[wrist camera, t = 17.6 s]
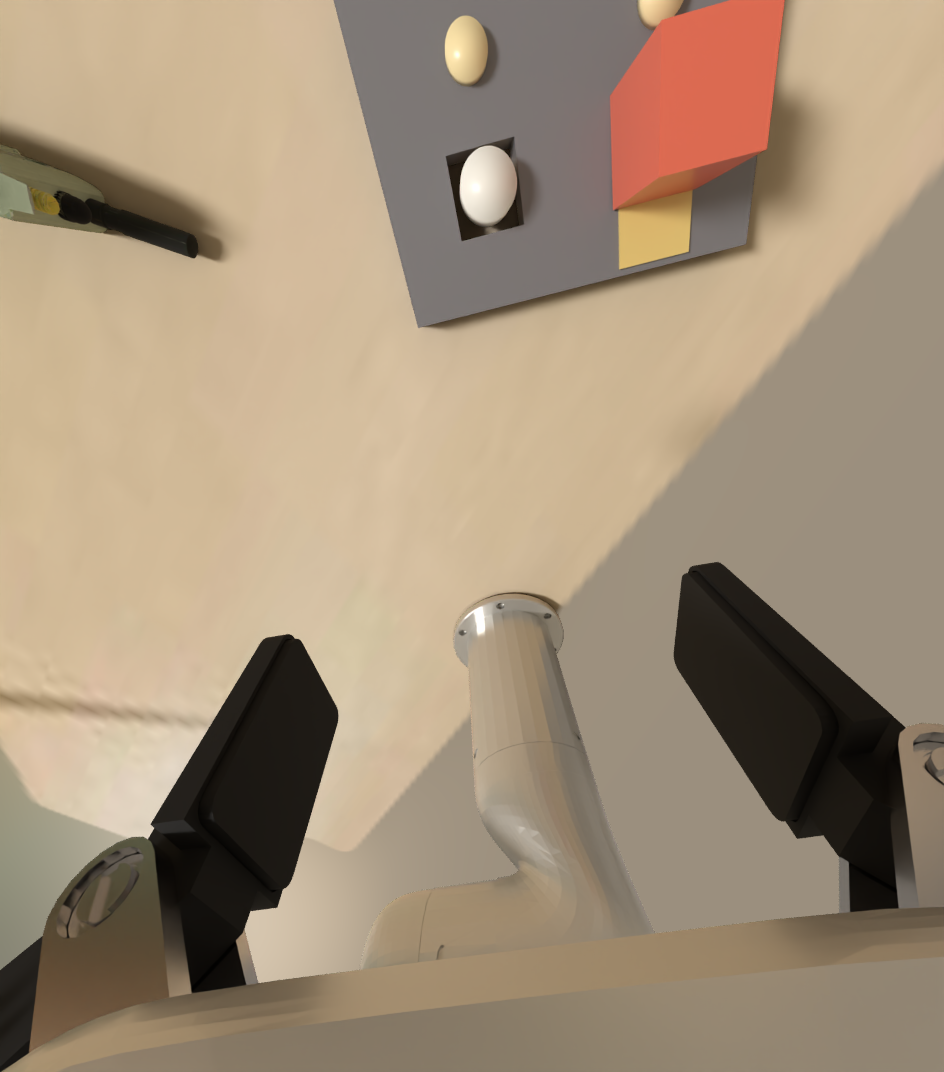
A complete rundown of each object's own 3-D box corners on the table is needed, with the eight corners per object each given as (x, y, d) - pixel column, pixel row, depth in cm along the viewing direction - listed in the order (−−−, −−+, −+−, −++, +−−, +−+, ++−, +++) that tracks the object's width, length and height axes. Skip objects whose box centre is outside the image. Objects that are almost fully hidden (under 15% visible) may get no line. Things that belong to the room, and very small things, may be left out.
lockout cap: (695, 188, 23) (767, 148, 18) (613, 210, 23) (658, 177, 18) (702, 70, 21) (786, -17, 16) (609, 95, 21) (661, 19, 16)
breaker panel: (726, 247, 27) (752, 242, 24) (420, 326, 28) (417, 328, 26) (765, -123, 19) (808, -181, 17) (340, 12, 20) (326, -23, 18)
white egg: (515, 219, 24) (520, 213, 22) (465, 233, 24) (467, 227, 23) (507, 150, 22) (512, 138, 21) (454, 165, 23) (454, 154, 21)
